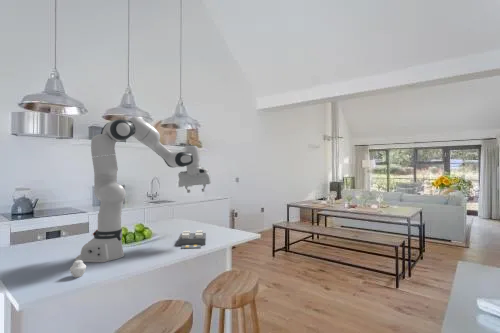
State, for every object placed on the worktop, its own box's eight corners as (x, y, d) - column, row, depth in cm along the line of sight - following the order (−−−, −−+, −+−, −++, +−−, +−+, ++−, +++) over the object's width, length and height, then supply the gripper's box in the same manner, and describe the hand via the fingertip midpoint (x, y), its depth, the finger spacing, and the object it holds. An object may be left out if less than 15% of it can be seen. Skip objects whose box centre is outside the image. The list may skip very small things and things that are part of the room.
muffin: (83, 272, 129) (83, 256, 129) (88, 275, 125) (88, 259, 125) (67, 276, 125) (67, 260, 125) (72, 280, 120) (72, 263, 120)
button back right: (195, 236, 182) (195, 232, 182) (196, 235, 186) (196, 230, 186) (202, 236, 182) (202, 231, 182) (202, 235, 186) (202, 230, 186)
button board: (178, 245, 172) (178, 239, 172) (180, 239, 186) (180, 233, 186) (205, 245, 174) (205, 238, 174) (205, 239, 188) (205, 232, 188)
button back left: (182, 237, 181) (182, 232, 181) (183, 235, 185) (183, 230, 185) (189, 236, 181) (189, 232, 181) (190, 235, 185) (190, 230, 185)
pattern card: (181, 248, 166) (181, 247, 166) (182, 246, 171) (182, 244, 171) (200, 248, 167) (200, 246, 167) (200, 245, 172) (200, 244, 172)
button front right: (195, 239, 175) (195, 234, 175) (195, 237, 179) (195, 233, 179) (202, 239, 175) (202, 234, 175) (202, 237, 179) (202, 232, 179)
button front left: (181, 240, 174) (181, 235, 174) (182, 238, 178) (182, 233, 178) (188, 239, 174) (188, 234, 174) (189, 238, 178) (189, 233, 178)
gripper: (176, 172, 181) (178, 194, 183) (208, 169, 180) (210, 191, 181) (179, 171, 188) (181, 192, 189) (210, 168, 186) (212, 190, 187)
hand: (196, 192), depth 185 cm, fingers open, 8 cm apart
